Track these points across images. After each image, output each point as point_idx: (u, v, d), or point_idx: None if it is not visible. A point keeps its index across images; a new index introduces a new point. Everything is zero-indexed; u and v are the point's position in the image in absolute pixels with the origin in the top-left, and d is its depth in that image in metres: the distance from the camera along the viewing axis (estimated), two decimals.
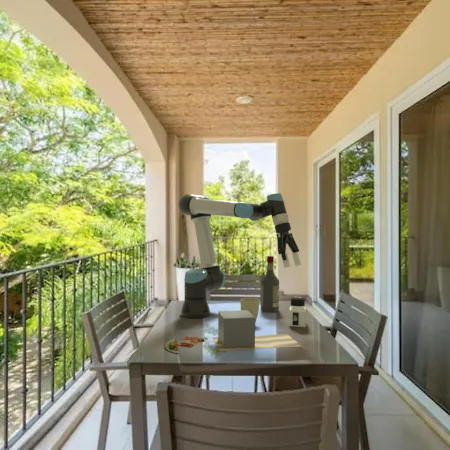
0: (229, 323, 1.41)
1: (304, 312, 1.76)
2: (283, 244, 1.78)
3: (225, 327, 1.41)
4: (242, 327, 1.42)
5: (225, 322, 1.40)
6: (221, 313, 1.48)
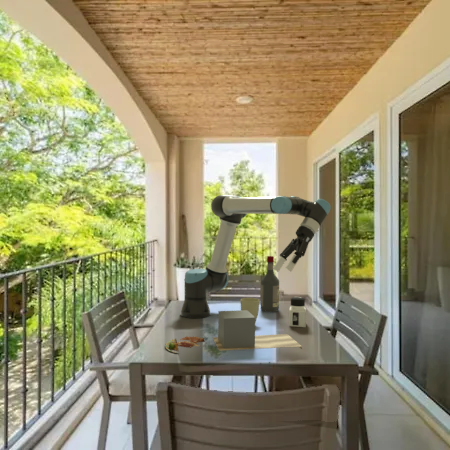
0: (229, 323, 1.41)
1: (304, 312, 1.76)
2: None
3: (225, 327, 1.41)
4: (242, 327, 1.42)
5: (225, 322, 1.40)
6: (221, 313, 1.48)
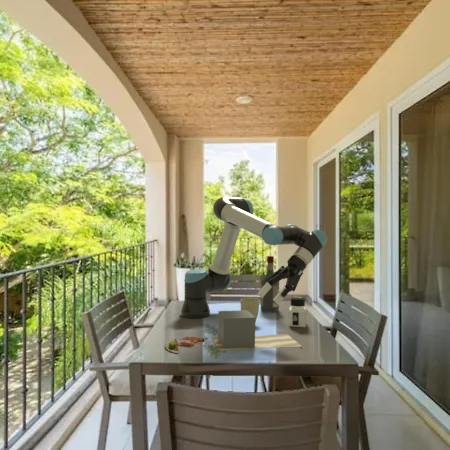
0: (229, 323, 1.41)
1: (304, 312, 1.76)
2: None
3: (225, 327, 1.41)
4: (242, 327, 1.42)
5: (225, 322, 1.40)
6: (221, 313, 1.48)
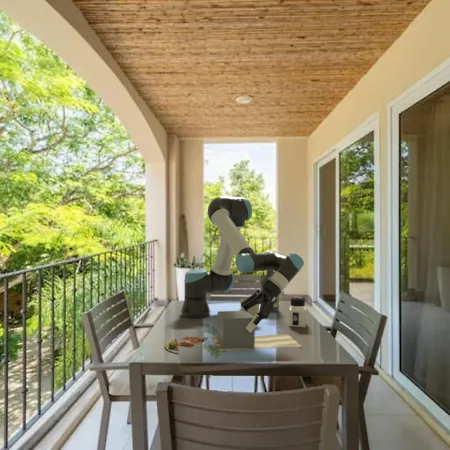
0: (229, 323, 1.40)
1: (304, 312, 1.76)
2: None
3: (225, 327, 1.40)
4: (242, 327, 1.41)
5: (225, 322, 1.40)
6: (220, 313, 1.48)
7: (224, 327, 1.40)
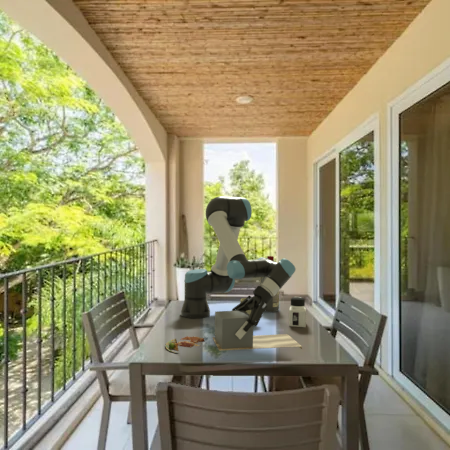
0: (227, 323, 1.40)
1: (304, 312, 1.76)
2: None
3: (224, 327, 1.40)
4: (240, 327, 1.41)
5: (224, 322, 1.40)
6: (218, 313, 1.47)
7: (223, 327, 1.40)
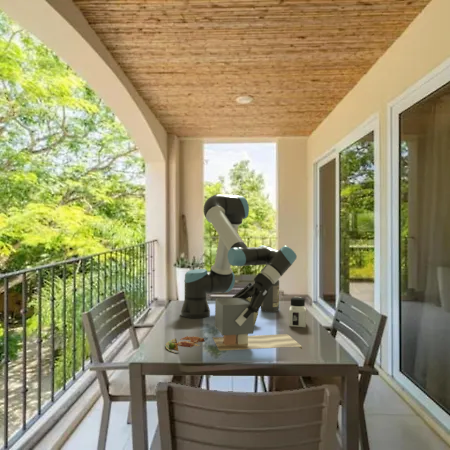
0: (228, 310, 1.40)
1: (304, 312, 1.76)
2: None
3: (224, 314, 1.40)
4: None
5: (224, 309, 1.40)
6: (219, 300, 1.47)
7: (223, 314, 1.40)
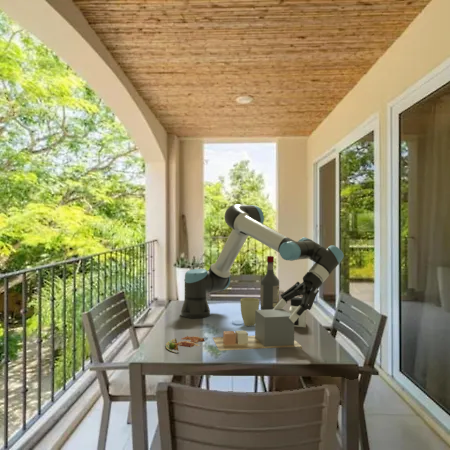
0: (270, 322, 1.43)
1: (304, 312, 1.76)
2: None
3: (266, 326, 1.43)
4: (282, 326, 1.44)
5: (266, 321, 1.43)
6: (259, 312, 1.51)
7: (265, 325, 1.43)
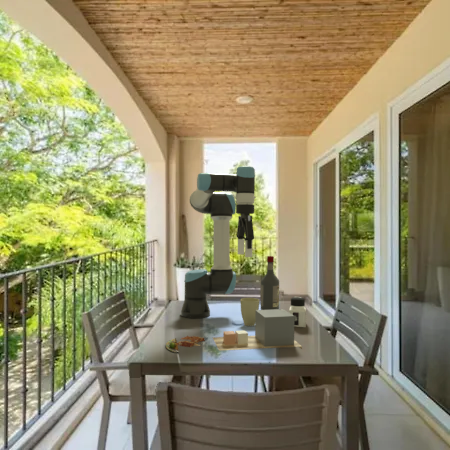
0: (270, 322, 1.43)
1: (304, 312, 1.76)
2: None
3: (266, 326, 1.43)
4: (282, 325, 1.45)
5: (266, 321, 1.43)
6: (259, 312, 1.51)
7: (265, 325, 1.43)
